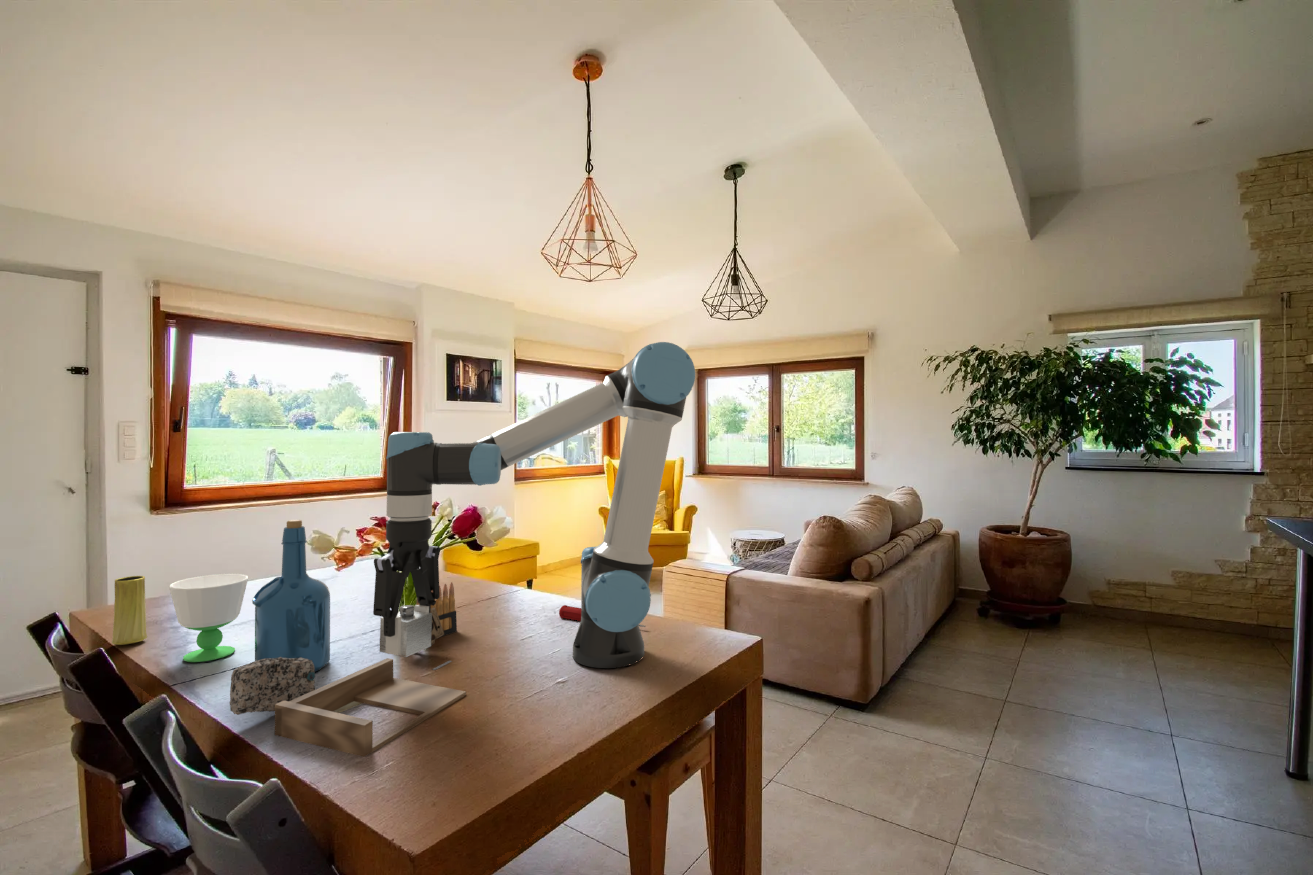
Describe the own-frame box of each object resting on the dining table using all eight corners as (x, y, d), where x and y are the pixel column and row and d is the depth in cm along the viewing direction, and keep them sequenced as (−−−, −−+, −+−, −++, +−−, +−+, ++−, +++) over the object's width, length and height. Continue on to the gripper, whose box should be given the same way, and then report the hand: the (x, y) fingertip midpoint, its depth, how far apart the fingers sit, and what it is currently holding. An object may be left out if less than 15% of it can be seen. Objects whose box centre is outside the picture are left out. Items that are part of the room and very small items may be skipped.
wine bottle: (320, 651, 130) (320, 514, 130) (339, 669, 120) (340, 520, 120) (245, 668, 120) (245, 520, 120) (259, 688, 110) (260, 527, 111)
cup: (255, 653, 128) (256, 580, 128) (174, 672, 118) (175, 592, 118) (239, 639, 138) (240, 570, 138) (163, 654, 127) (163, 580, 128)
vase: (105, 642, 135) (105, 579, 135) (137, 634, 140) (137, 574, 140) (121, 646, 132) (121, 582, 132) (153, 638, 138) (153, 576, 138)
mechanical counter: (428, 662, 124) (428, 614, 124) (373, 657, 126) (373, 610, 126) (446, 650, 131) (447, 605, 131) (395, 646, 133) (395, 601, 133)
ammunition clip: (418, 644, 135) (418, 591, 135) (413, 642, 136) (413, 590, 136) (457, 631, 144) (457, 581, 144) (452, 630, 145) (452, 580, 145)
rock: (303, 653, 107) (319, 651, 105) (302, 705, 105) (318, 703, 103) (228, 663, 96) (244, 660, 94) (224, 721, 94) (241, 720, 92)
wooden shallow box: (466, 697, 107) (466, 669, 107) (364, 759, 86) (364, 725, 86) (387, 681, 114) (387, 655, 114) (274, 736, 93) (274, 704, 93)
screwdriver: (641, 635, 141) (641, 621, 141) (557, 620, 153) (557, 606, 153) (648, 631, 145) (649, 617, 145) (565, 616, 156) (566, 603, 156)
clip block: (430, 646, 108) (432, 605, 108) (406, 657, 103) (407, 613, 103) (405, 641, 110) (406, 600, 110) (379, 651, 105) (380, 609, 105)
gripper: (430, 510, 117) (428, 628, 117) (348, 523, 99) (347, 662, 99) (461, 513, 114) (460, 633, 114) (383, 526, 96) (381, 669, 96)
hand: (407, 646), depth 106 cm, fingers closed on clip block, 6 cm apart
